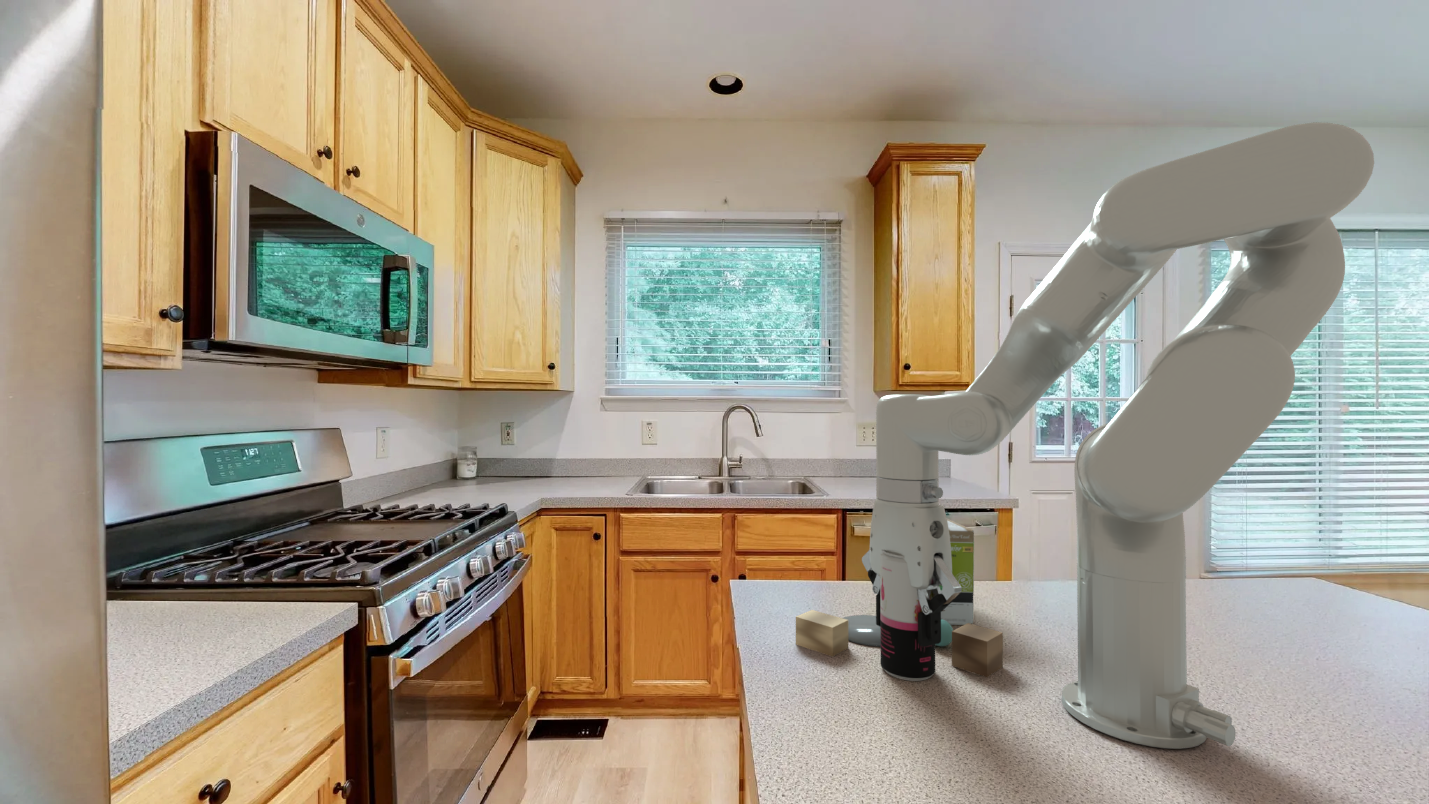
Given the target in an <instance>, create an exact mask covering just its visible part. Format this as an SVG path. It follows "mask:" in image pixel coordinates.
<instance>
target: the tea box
mask: <svg viewBox="0 0 1429 804" xmlns="http://www.w3.org/2000/svg"><path fill="white" fill-rule="evenodd" d="M947 522H948V528H949V535H950V544H951V558H952V574H953V576H954V577H955V578H956V580H957V581H958V583H959V584H960V586H961V588H962V591H961V592H960V593H959V594H958V595H957V596H956V597H955V598H954V599H953V601H952V603H950V604H949V605H948V606H947V607H946V610H945V611H942V612H941V619H943V620H945V621H947V622H948V623H949V624H950V625H951V626H952V625H955V626H957V625H959V626H963V625H965V624H967V623H970V624H973V623H974V596H975V595H974V594H975V593H974V592H975V591H974V590H975V589H974V587H975V584H974V583H975V582H974V581H975V580H974V572H975V571H974V570H975V565H974V564H975V563H974V562H975V557H974V555H975V531H974V530H973V529H972V528H969V527H967V526H965V525H963V524H960V523H958V522H956V521H954V520H951V519H949V518H947ZM939 587H940V590H942V589H943V586H941V585H939Z"/></svg>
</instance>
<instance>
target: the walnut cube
mask: <svg viewBox="0 0 1429 804" xmlns="http://www.w3.org/2000/svg"><path fill="white" fill-rule="evenodd" d="M1003 636H1004V635H1003V632H1002V631H998V630H994V629H992V628H987V627H984V626H980V625H976V624H973V623H972V624H970V623H967V624H965V625H960V627H958V628H955V629H953V631H952V642H951V666H952V667H955V668H956V669H957V668H958V669H960V670H963V671H965V672H969V673H972V674H975V675H978V676H981V677H984V678H986V679H987V678H989V677H991V676H992V675H994V674H995V673H996V672H998V671H1000V670H1001V669H1003V667H1004V648H1003V647H1004V643H1003V642H1004V639H1003V638H1004V637H1003Z"/></svg>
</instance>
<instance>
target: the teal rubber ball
mask: <svg viewBox="0 0 1429 804" xmlns="http://www.w3.org/2000/svg"><path fill="white" fill-rule="evenodd" d="M953 630H954V629H953V626H952V625H950V624H949V623H948V622H947V621H945V620H943V619H941V642H940V643H939V644H935V646H938V647H946V646H948V645H950V644H952V631H953Z"/></svg>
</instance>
